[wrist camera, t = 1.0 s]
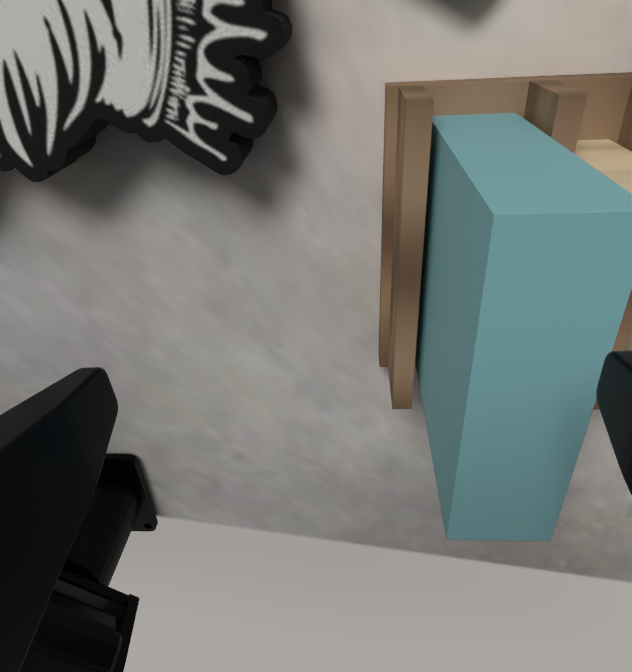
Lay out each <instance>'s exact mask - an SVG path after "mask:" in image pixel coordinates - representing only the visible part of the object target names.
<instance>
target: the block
mask: <svg viewBox="0 0 632 672" xmlns="http://www.w3.org/2000/svg"><path fill="white" fill-rule="evenodd" d="M631 289H632V194H631V193H630V192H628V191H627V190H625V189H624V188H623V187H621V186H620V185H618V184H617V183H615V182H614V181H613V180H611V179H610V178H608V177H607V176H605V175H604V174H603V173H601V172H600V171H598V170H597V169H595V168H594V167H593V166H591V165H590V164H588V163H587V162H585V161H584V160H583V159H581V158H580V157H578V156H577V155H575V154H574V153H572V152H571V151H570V150H568V149H567V148H565V147H564V146H562V145H561V144H560V143H558V142H557V141H555V140H554V139H552V138H551V137H550V136H548V135H547V134H545V133H544V132H542V131H541V130H540V129H538V128H537V127H535V126H534V125H532V124H531V123H530V122H528V121H527V120H525V119H524V118H522V117H521V116H520V115H518V114H517V113H498V114H471V115H444V116H433V119H432V132H431V146H430V160H429V174H428V188H427V202H426V216H425V230H424V244H423V257H422V271H421V285H420V299H419V313H418V327H417V341H416V355H415V363H416V369H417V374H418V380H419V386H420V391H421V397H422V403H423V408H424V414H425V420H426V425H427V431H428V437H429V442H430V448H431V454H432V459H433V465H434V471H435V476H436V482H437V488H438V493H439V499H440V505H441V510H442V516H443V521H444V527H445V533H446V538H447V539H460V540H508V541H551V538H552V535H553V532H554V529H555V526H556V522H557V519H558V516H559V513H560V510H561V507H562V504H563V501H564V498H565V495H566V491H567V488H568V485H569V482H570V479H571V476H572V473H573V470H574V467H575V463H576V460H577V457H578V454H579V451H580V448H581V445H582V442H583V439H584V435H585V432H586V429H587V426H588V423H589V420H590V417H591V414H592V411H593V408H594V404H595V401H596V390H597V385H598V382H599V378H600V374H601V371H602V367H603V363H604V360H605V357H606V355H607V354H608V353H609V352H611V351H612V348H613V345H614V342H615V339H616V336H617V333H618V330H619V327H620V324H621V321H622V317H623V314H624V311H625V308H626V305H627V302H628V299H629V296H630V293H631Z"/></svg>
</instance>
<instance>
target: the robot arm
mask: <svg viewBox="0 0 632 672" xmlns="http://www.w3.org/2000/svg"><path fill="white" fill-rule="evenodd" d="M596 398H597V402H598V406H599V409H600V411H601V414H602V417H603V420H604V423H605V426H606V429H607V432H608V435H609V438H610V441H611V443H612V446H613V449H614V452H615V455H616V458H617V461H618V464H619V467H620V469H621V472H622V475H623V477H624V480H625V482H626V484H627V486H628V488H629V491H630V493H631V495H632V350H625V351H611V352H609V353H608V354H607V355H606V357H605V360H604V363H603V367H602V371H601V374H600V378H599V382H598V385H597V390H596ZM117 413H118V403H117V399H116V396H115V394H114V391H113V388H112V386H111V383H110V380H109V378H108V375H107V373H106V371H105V370H104V369H102V368H100V367H94V368H80V369H78V370H76V371H74V372H73V373H71V374H69V375H68V376H66V377H64V378H63V379H61V380H59V381H57V382H56V383H54V384H52V385H51V386H49V387H47V388H46V389H44V390H42V391H40V392H39V393H37V394H35V395H34V396H32V397H30V398H28V399H27V400H25V401H23V402H22V403H20V404H18V405H17V406H15V407H13V408H11V409H10V410H8V411H6V412H5V413H3V414H1V415H0V672H123V670H124V666H125V662H126V657H127V653H128V648H129V644H130V639H131V634H132V630H133V625H134V621H135V616H136V611H137V606H138V601H139V598H138V597H136V596H134V595H131V594H129V595H126V594H124V593H122V592H119V591H117V590H115V589H112V588H110V587H108V586H109V583H110V581H111V578H112V576H113V574H114V571H115V569H116V566H117V564H118V561H119V559H120V557H121V554H122V552H123V549H124V547H125V544H126V542H127V540H128V537H129V535H130V532H131V531H153V530H155V529H156V526H157V523H158V522H157V518H156V515H155V512H154V509H153V506H152V503H151V500H150V497H149V493H148V490H147V487H146V484H145V481H144V478H143V475H142V472H141V469H140V466H139V463H138V460H137V458H136V457H135V456H133V455H131V454H106V452H107V448H108V445H109V441H110V438H111V434H112V431H113V427H114V424H115V420H116V417H117Z"/></svg>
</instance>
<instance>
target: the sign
mask: <svg viewBox="0 0 632 672" xmlns="http://www.w3.org/2000/svg"><path fill="white" fill-rule="evenodd" d="M291 33H292V25H291V24H290V22H289V18H288V16H287V15H285V14H283V13H281V12H278V11H275V10H273V9H272V2H271V0H0V170H1V171H10V170H12V169H14V168H16V169H17V170H18V171H19V172H21V173H22V174H23V175H24V176H25V177H27V178H28V179H29V180H31V181H33V182H40V181H43V180H45V179H47V178H48V177H50V176H52V175H53V174H55V173H57V172H58V171H60V170H62V169H63V168H65V167H67V166H68V165H70V164H72V163H73V162H75V161H76V160H77V159H78V158H79V157H81V156H82V155H84V154H86V153H87V152H89V151H91V149H92V148H93V146H94V144H95V141H96V136H97V133H98V132H99V131H101V130H103V129H105V128H106V127H107V126H108V125H109V123H111V124H113V125H114V126H116V127H117V128H119V129H121V130H122V131H124V132H127V133H133V132H134V133H136V134H137V135H139V136H140V137H141V138H142V139H143V140H145V141H146V142H149V143H152V142H158V141H160V140H162V139H163V138H165V139H167V140H168V141H170V142H171V143H172V144H173V145H175V146H176V147H177V148H178V149H180V150H181V151H183V152H184V153H186V154H187V155H189V156H191V157H193V158H194V159H196V160H198V161H199V162H201V163H203V164H204V165H206V166H207V167H209V168H210V169H212V170H213V171H215V172H216V173H218V174H220V175H230V174H232V173H234V172H236V171H237V170H238V169H239V168H240V166H241V165H242V163H243V162H244V160H245V159H246V157H247V156H248V154H249V153H250V151H251V149H252V147H253V139H256V138H259V137H260V136H262V135H263V134H264V133H265V131H266V129H267V128H268V126H269V125H270V123H271V122H272V120H273V118H274V117H275V115H276V112H277V101H276V98H275V96H274V94H273V92H272V91H271V90H269V89H267V88H265V87H263V86H261V85H259V84H258V82H259V80H260V79H261V77H262V73H261V66H260V63H259V61H258V59H257V58H261V59H265V58H266V57H269V56H271V55H273V54H274V53H275V52H277V51H278V50H279V49H281V48H282V47H283V46H284V45H285V44H286V43H287V42H288V40H289V38H290V36H291Z"/></svg>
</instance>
